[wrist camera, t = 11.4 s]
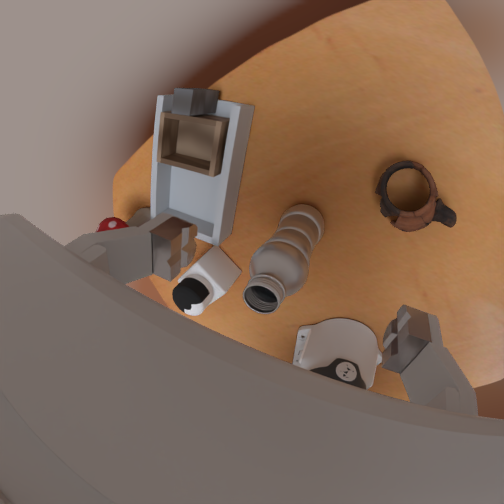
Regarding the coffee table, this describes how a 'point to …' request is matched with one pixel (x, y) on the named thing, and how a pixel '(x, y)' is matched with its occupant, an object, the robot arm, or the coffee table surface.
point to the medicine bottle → (205, 281)
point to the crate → (193, 132)
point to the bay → (203, 177)
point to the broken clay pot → (421, 216)
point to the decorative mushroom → (136, 220)
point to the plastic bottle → (283, 259)
